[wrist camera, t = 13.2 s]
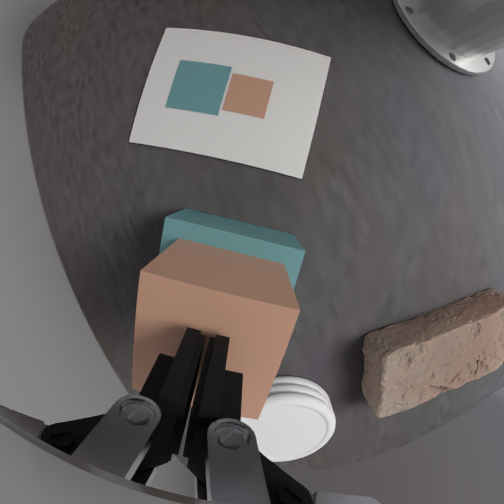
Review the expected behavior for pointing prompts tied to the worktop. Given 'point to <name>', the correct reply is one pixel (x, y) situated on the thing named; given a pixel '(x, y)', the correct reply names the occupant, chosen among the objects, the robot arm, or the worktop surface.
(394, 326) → the brick
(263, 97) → the page
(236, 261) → the clay block
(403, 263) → the worktop surface
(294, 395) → the coaster
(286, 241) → the base block
